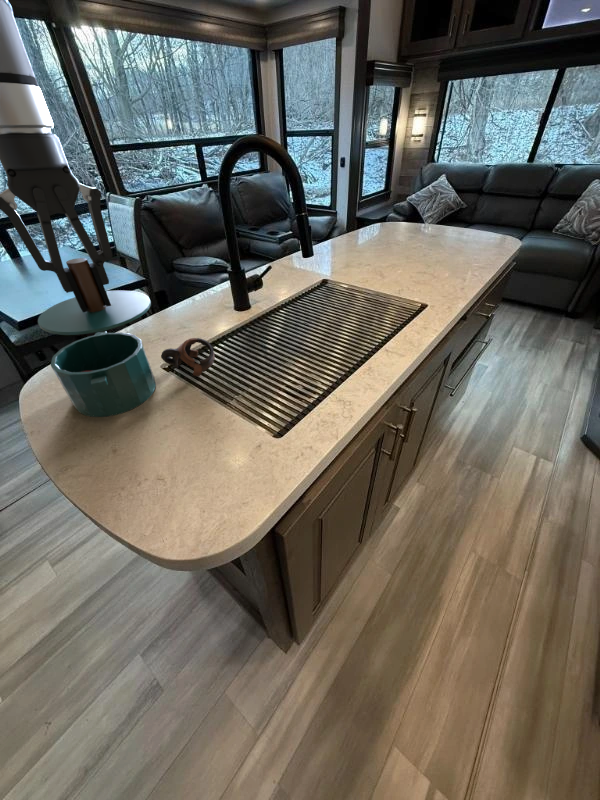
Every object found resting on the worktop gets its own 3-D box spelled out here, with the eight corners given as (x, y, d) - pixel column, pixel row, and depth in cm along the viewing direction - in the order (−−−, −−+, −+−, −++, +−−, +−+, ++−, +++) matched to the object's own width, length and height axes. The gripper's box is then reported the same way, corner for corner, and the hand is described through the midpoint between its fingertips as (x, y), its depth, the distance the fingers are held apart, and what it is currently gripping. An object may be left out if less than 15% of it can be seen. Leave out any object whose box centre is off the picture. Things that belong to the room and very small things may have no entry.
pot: (70, 435, 63) (43, 391, 57) (78, 376, 79) (57, 336, 73) (161, 411, 69) (145, 368, 62) (151, 360, 84) (138, 322, 78)
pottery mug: (207, 353, 87) (213, 333, 81) (214, 384, 84) (220, 366, 77) (158, 354, 82) (160, 332, 75) (163, 386, 78) (165, 367, 71)
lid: (31, 347, 49) (-5, 287, 44) (49, 305, 62) (23, 253, 56) (155, 325, 54) (137, 268, 49) (148, 290, 67) (133, 242, 62)
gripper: (85, 132, 49) (136, 289, 63) (-57, 133, 41) (39, 311, 56) (96, 130, 44) (149, 301, 59) (-61, 132, 37) (44, 327, 51)
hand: (95, 306), depth 57 cm, fingers closed on lid, 3 cm apart
